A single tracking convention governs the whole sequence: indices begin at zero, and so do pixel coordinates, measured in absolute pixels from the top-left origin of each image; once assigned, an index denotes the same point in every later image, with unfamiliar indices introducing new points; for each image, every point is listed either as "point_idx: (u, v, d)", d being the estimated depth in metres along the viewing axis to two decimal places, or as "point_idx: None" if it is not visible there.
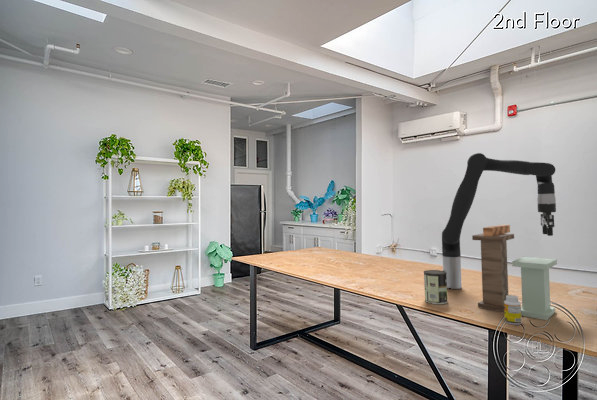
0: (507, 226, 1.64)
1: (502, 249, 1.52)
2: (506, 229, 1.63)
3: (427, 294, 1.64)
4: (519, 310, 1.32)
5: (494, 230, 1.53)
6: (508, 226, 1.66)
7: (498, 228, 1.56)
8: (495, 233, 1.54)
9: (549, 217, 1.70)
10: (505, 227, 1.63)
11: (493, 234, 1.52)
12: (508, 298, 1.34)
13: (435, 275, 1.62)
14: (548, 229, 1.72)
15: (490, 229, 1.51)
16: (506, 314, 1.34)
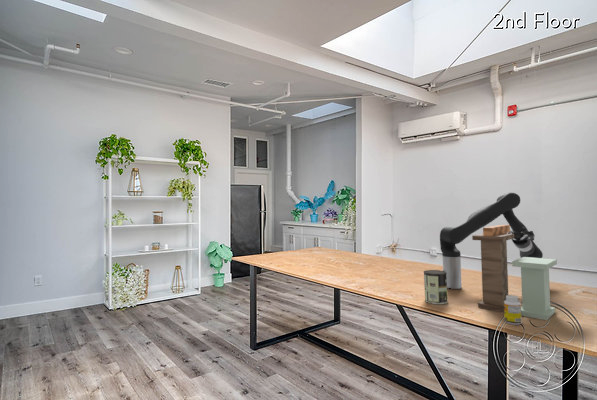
0: (507, 226, 1.64)
1: (502, 249, 1.52)
2: (506, 229, 1.63)
3: (427, 294, 1.64)
4: (519, 310, 1.32)
5: (494, 230, 1.53)
6: (508, 226, 1.66)
7: (498, 228, 1.56)
8: (495, 233, 1.54)
9: None
10: (505, 227, 1.63)
11: (493, 234, 1.52)
12: (508, 298, 1.34)
13: (435, 275, 1.62)
14: None
15: (490, 229, 1.51)
16: (506, 314, 1.34)
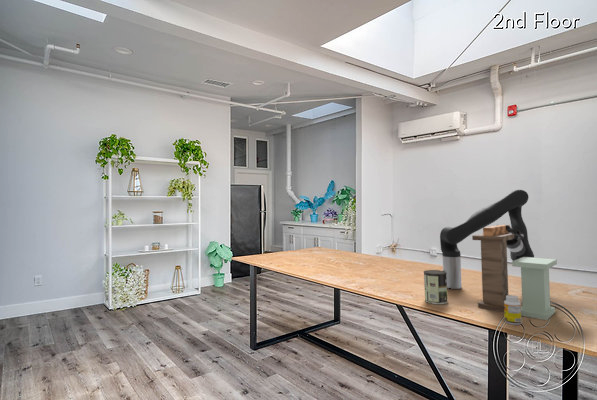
0: None
1: (502, 249, 1.52)
2: None
3: (427, 294, 1.64)
4: (519, 310, 1.32)
5: (494, 230, 1.53)
6: None
7: (498, 228, 1.56)
8: (495, 233, 1.54)
9: (522, 234, 1.65)
10: (505, 227, 1.63)
11: (493, 234, 1.52)
12: (508, 298, 1.34)
13: (435, 275, 1.62)
14: None
15: (490, 229, 1.51)
16: (506, 314, 1.34)
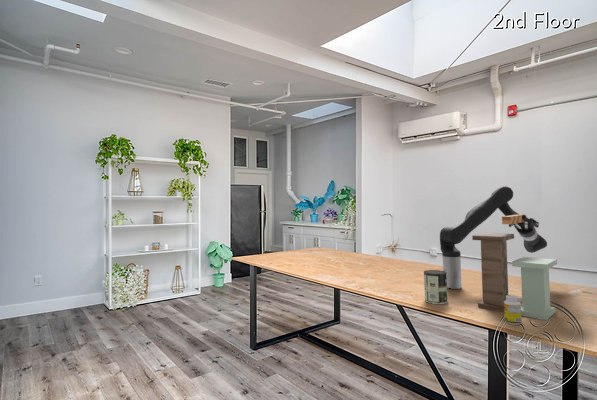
0: None
1: (502, 249, 1.52)
2: (522, 219, 1.71)
3: (427, 294, 1.64)
4: (519, 310, 1.32)
5: (512, 218, 1.60)
6: None
7: (516, 217, 1.64)
8: (513, 222, 1.61)
9: (537, 223, 1.73)
10: (521, 216, 1.71)
11: (512, 222, 1.60)
12: (508, 298, 1.34)
13: (435, 275, 1.62)
14: None
15: (509, 218, 1.59)
16: (506, 314, 1.34)
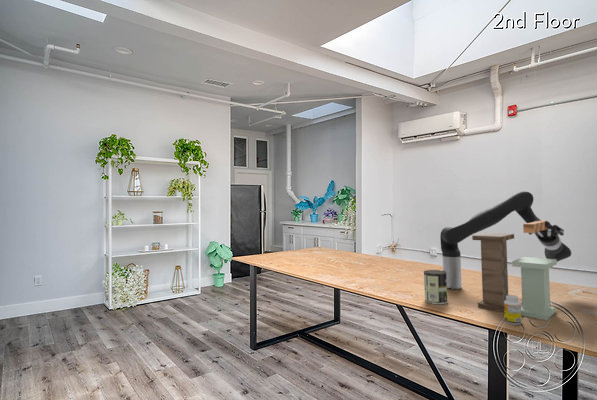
0: None
1: (502, 249, 1.52)
2: (545, 226, 1.52)
3: (427, 294, 1.64)
4: (519, 310, 1.32)
5: (535, 226, 1.41)
6: None
7: (539, 224, 1.45)
8: (536, 230, 1.42)
9: (562, 230, 1.54)
10: (544, 223, 1.51)
11: (535, 230, 1.41)
12: (508, 298, 1.34)
13: (435, 275, 1.62)
14: None
15: (532, 225, 1.40)
16: (506, 314, 1.34)
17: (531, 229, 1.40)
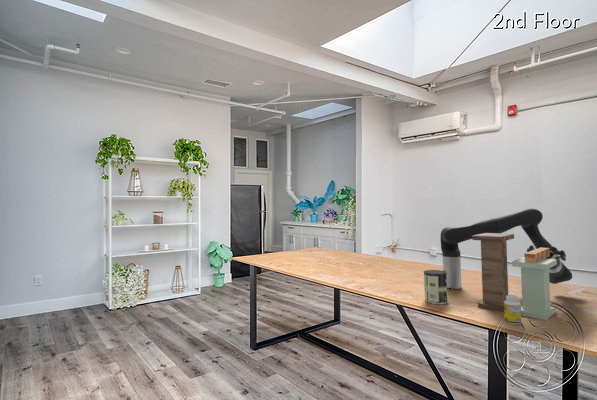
0: (547, 250, 1.53)
1: (502, 249, 1.52)
2: (546, 253, 1.52)
3: (427, 294, 1.64)
4: (519, 310, 1.32)
5: (536, 256, 1.41)
6: (548, 249, 1.54)
7: (540, 253, 1.45)
8: (537, 259, 1.42)
9: (565, 256, 1.54)
10: (546, 251, 1.51)
11: (536, 260, 1.41)
12: (508, 298, 1.34)
13: (435, 275, 1.62)
14: (556, 249, 1.52)
15: (533, 255, 1.39)
16: (506, 314, 1.34)
17: (532, 259, 1.40)
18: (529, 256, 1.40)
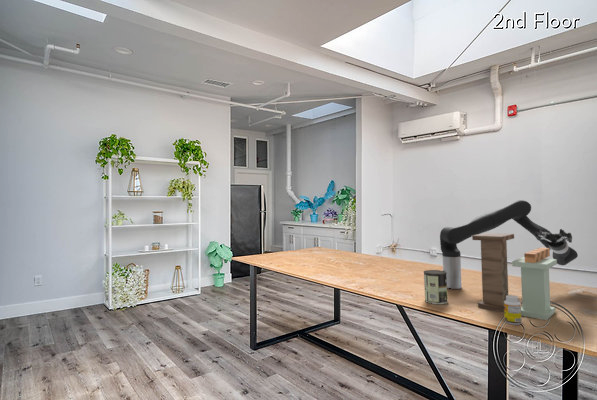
0: (547, 250, 1.53)
1: (502, 249, 1.52)
2: (546, 253, 1.52)
3: (427, 294, 1.64)
4: (519, 310, 1.32)
5: (536, 256, 1.41)
6: (548, 249, 1.54)
7: (540, 253, 1.45)
8: (537, 259, 1.42)
9: (571, 238, 1.64)
10: (546, 251, 1.51)
11: (536, 260, 1.41)
12: (508, 298, 1.34)
13: (435, 275, 1.62)
14: (564, 232, 1.62)
15: (533, 255, 1.39)
16: (506, 314, 1.34)
17: (532, 259, 1.40)
18: (529, 256, 1.40)
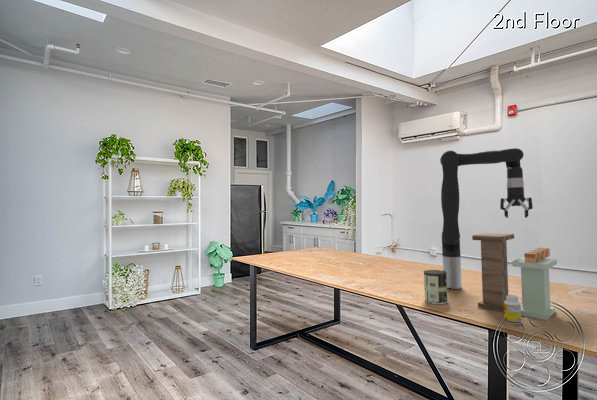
0: (547, 250, 1.53)
1: (502, 249, 1.52)
2: (546, 253, 1.52)
3: (427, 294, 1.64)
4: (519, 310, 1.32)
5: (536, 256, 1.41)
6: (548, 249, 1.54)
7: (540, 253, 1.45)
8: (537, 259, 1.42)
9: None
10: (546, 251, 1.51)
11: (536, 260, 1.41)
12: (508, 298, 1.34)
13: (435, 275, 1.62)
14: (527, 211, 1.81)
15: (533, 255, 1.39)
16: (506, 314, 1.34)
17: (532, 259, 1.40)
18: (529, 256, 1.40)
